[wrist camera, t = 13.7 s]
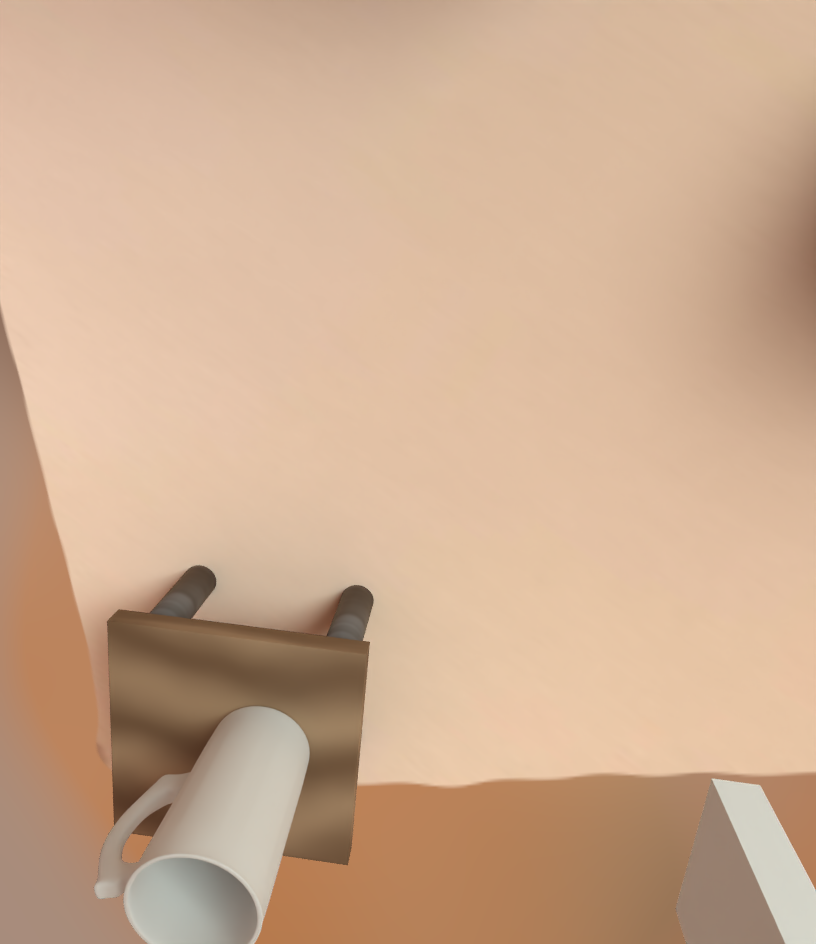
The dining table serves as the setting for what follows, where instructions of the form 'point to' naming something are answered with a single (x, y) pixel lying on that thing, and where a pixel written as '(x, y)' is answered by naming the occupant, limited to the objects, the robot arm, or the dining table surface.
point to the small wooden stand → (239, 702)
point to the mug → (212, 835)
